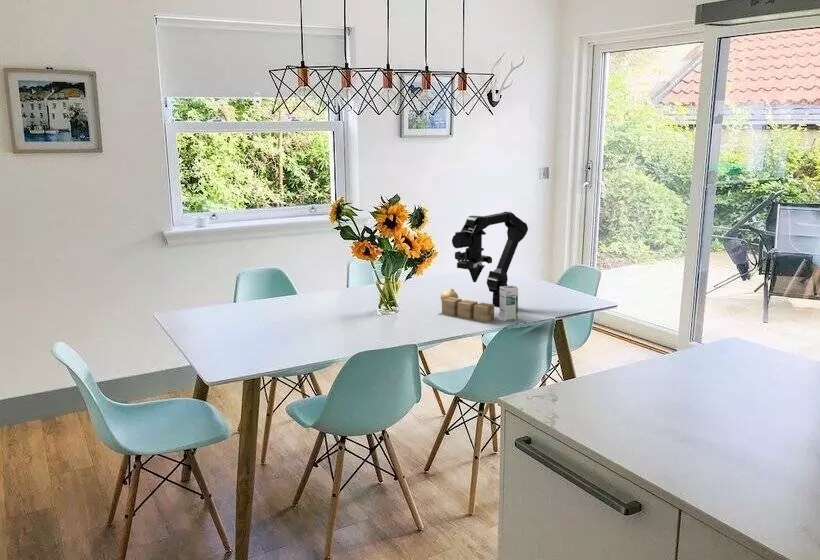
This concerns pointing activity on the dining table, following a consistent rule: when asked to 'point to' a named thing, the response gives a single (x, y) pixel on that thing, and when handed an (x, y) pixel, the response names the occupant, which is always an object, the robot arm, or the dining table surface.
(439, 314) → the mat
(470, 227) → the robot arm
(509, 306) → the syrup box
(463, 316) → the block plain
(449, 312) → the tan cube
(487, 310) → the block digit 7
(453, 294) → the onion
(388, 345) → the dining table surface
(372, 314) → the dining table surface
